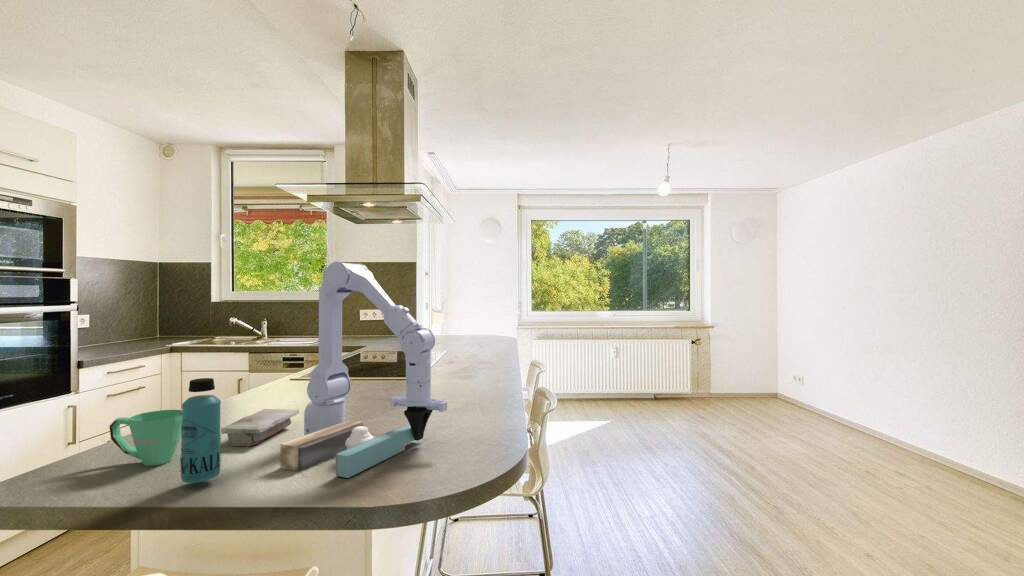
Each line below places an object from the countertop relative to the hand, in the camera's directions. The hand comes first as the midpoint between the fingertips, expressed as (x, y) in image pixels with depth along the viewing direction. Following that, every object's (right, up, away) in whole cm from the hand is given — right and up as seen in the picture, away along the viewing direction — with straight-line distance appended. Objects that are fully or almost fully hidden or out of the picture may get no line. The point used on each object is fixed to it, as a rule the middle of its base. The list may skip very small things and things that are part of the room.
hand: (418, 439), depth 112 cm
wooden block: (-20, -2, -5) cm, 21 cm away
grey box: (-46, 0, +10) cm, 47 cm away
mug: (-57, -2, -9) cm, 57 cm away
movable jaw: (-6, -2, -7) cm, 10 cm away
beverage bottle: (-37, -2, -21) cm, 43 cm away
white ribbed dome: (-11, -2, -7) cm, 13 cm away
